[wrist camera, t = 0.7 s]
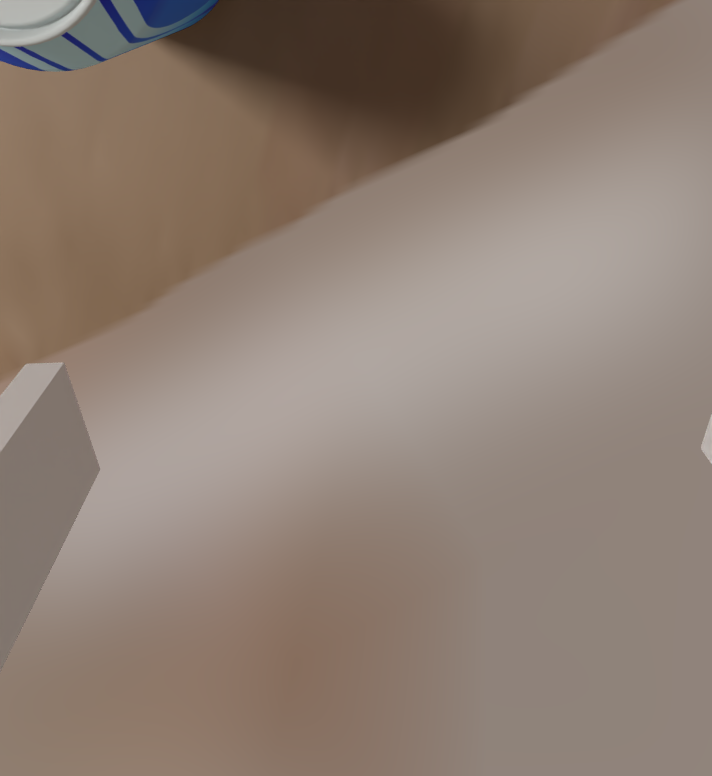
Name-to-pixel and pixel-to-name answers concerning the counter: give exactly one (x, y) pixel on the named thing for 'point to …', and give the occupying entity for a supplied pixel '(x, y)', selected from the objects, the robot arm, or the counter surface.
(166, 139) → the counter surface
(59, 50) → the beer can
